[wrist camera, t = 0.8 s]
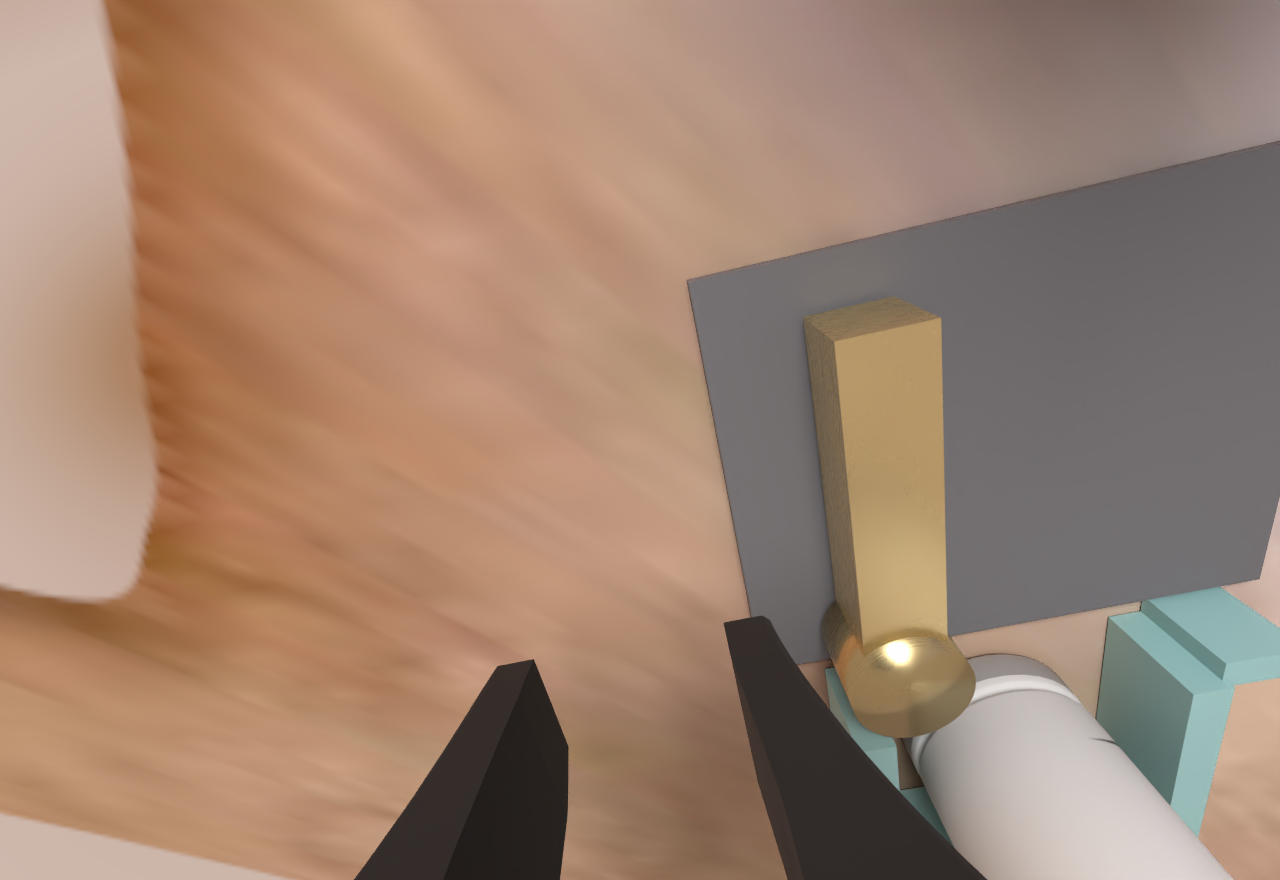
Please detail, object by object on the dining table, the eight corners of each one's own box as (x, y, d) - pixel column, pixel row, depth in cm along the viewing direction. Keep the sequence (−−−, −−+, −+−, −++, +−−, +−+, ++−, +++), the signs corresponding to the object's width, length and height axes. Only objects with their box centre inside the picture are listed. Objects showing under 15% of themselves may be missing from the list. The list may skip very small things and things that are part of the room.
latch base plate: (1348, 124, 15) (1371, 123, 15) (1245, 570, 21) (1259, 579, 20) (686, 280, 16) (688, 283, 16) (759, 661, 22) (762, 671, 21)
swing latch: (929, 653, 21) (975, 726, 18) (826, 672, 21) (857, 746, 18) (916, 291, 16) (977, 315, 13) (780, 321, 16) (812, 352, 13)
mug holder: (1214, 582, 21) (1320, 656, 18) (1176, 763, 25) (1258, 851, 21) (822, 655, 22) (856, 737, 19) (844, 818, 26) (875, 910, 22)
